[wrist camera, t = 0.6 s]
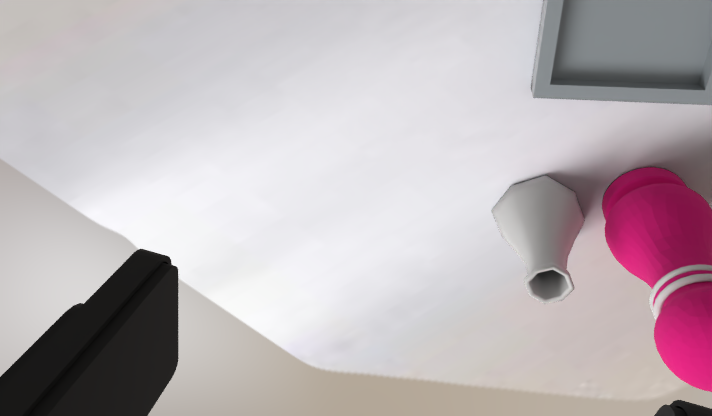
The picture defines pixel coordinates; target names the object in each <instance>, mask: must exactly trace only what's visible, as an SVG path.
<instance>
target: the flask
mask: <svg viewBox="0 0 712 416" xmlns="http://www.w3.org/2000/svg"><path fill="white" fill-rule="evenodd" d="M491 211H492V214H493V216H494V219H495V221H496V223H497V226H498V228H499V231H500V233H501V236H502V238H503V239H504V240H505V241H506V242H507V243H508V244H509V246H510V247H511V248H512V249H513V250H514V251H515V252H516V253H517V255H518V256H519V257H520V258H521V260H522V261H523V262H524V264H525V265H526V267H527V274H528V275H527V276H526V277H525V278H524V283H525V286H526V288H527V291H528V293H529V296H531V297H532V298H534V299H536V300H538V301H540V302H541V303H543V304H548V303H553V302H557V301H562V300H563V299H564V298H566V297H567V296H568V295H569V294H570V293H571V292H572V291H573V290H574V285H573V282H572V279H571V277H570V274H569V272H568V271H567V270H566V268H567V259H568V255H569V253H570V251H571V248H572V246H573V244H574V241H575V239H576V237H577V235H578V233H579V231H580V229H581V227H582V225H583V223H584V221H585V220H584V217H583V214H582V211H581V208H580V205H579V202H578V199H577V196H576V193H575V192H574V191H572V190H570V189H569V188H567V187H565V186H563V185H562V184H560V183H558V182H556V181H555V180H553V179H551V178H549V177H548V176H546V175H545V176H542V177H539V178H535V179H532V180H529V181H525V182H522V183H519V184H516V185H512V186H511V187H510V188H509V189H508V190H507V192H506V193H505V194H504V195H503V197H502V198H501V199H500V200H499V201H498V203H497V204H496V205H495V206H494V208H493V209H492V210H491Z"/></svg>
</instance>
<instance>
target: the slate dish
mask: <svg viewBox="0 0 712 416" xmlns="http://www.w3.org/2000/svg"><path fill="white" fill-rule="evenodd" d="M531 91H532V95H533V98H551V99H575V100H600V101H624V102H648V103H673V104H697V105H712V0H543V6H542V13H541V20H540V27H539V34H538V41H537V48H536V55H535V62H534V69H533V76H532V83H531Z"/></svg>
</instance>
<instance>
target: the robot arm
mask: <svg viewBox="0 0 712 416" xmlns="http://www.w3.org/2000/svg"><path fill="white" fill-rule="evenodd" d="M177 363H178V268H177V267H176V266H173V265H171V259H170V257H168V256H165V255H161V254H158V253H154V252H151V251H147V250H144V249H139V250H137V251H136V252H134V253H133V254H132V255H131V256H130V258H129V259H127V260H126V262H125V263H124V264H123V265H122V266H121V267H120V268H119V269H118V270H117V271H116V272H115V273H114V274H113V275H112V276H111V277H110V278H109V279H108V280H107V281H106V282H105V283H104V284H103V285H102V286H101V287H100V288H99V289H98V290H97V291H96V292H95V293H94V294H93V295H92V296H91V297H90V298H89V299H88V300H87V301H86V302H85V303H84V304H81V303H79V304H77V305H74V306H73V307H71V308H70V309H69V310H68V311H66V312H65V313H64V314H63V315H62V316H61V317H60V318H59V319H58V320H57V321H56V322H55V323H54V324H53V325H52V326H51V327H50V328H49V329H48V330H47V331H46V332H45V333H44V334H43V335H42V336H41V337H40V338H39V339H38V340H37V341H36V342H35V343H34V344H33V345H32V346H31V347H30V348H29V349H28V350H27V351H26V352H25V353H24V354H23V355H22V356H21V357H20V358H19V359H18V360H17V361H16V362H15V363H14V364H13V365H12V366H11V367H10V368H9V369H8V370H7V371H6V372H5V373H4V374H3V375H2V376H1V377H0V416H147V415H148V414H149V412H150V411H151V409H152V408H153V406H154V405H155V403H156V401H157V400H158V398H159V397H160V395H161V394H162V392H163V391H164V389H165V387H166V386H167V384H168V383H169V381H170V380H171V378H172V376H173V375H174V372H175V370H176V367H177ZM654 416H712V409H710V408H706V407H703V406H700V405H696V404H692V403H689V402H685V401H681V400H677V401H674V402H673V403H672V404H671V405H670V406H669V405H663V406H662V407H661V408H660V409H659V410H658V412H657V413H656V414H655V415H654Z"/></svg>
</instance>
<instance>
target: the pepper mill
mask: <svg viewBox="0 0 712 416" xmlns="http://www.w3.org/2000/svg"><path fill="white" fill-rule="evenodd" d="M602 209H603V214H604V217H605V219H606V224H605V237H606V241H607V244H608V246H609V248H610V250H611V252H612V254H613V255H614V257H615V258H616V260H617V261H618V262H619V263H620V264H621V265H622V266H623V267H625V268H626V269H627V270H628V271H629V272H631V273H632V274H633V275H635V276H637V277H638V278H640V279H641V280H643V281H645V282H646V283H647V284H648V285H649V286H650V287H651V288H652V291H651V294H650V299H649V303H650V308H651V311H652V313H653V314H654V318H655V320H656V323H655V328H654V339H655V343H656V347H657V350H658V352H659V354H660V356H661V358H662V360H663V361H664V363H665V364H666V365H667V367H668V368H669V369H670V370H671V371H672V372H673V373H674V374H675V375H676V376H677V377H678V378H680V379H681V380H683V381H684V382H686V383H688V384H690V385H691V386H694V387H696V388H699V389H702V390H705V391H710V392H712V210H711V208H710V206H709V204H708V203H707V202H706V200H705V199H704V198H703V197H702V196H701V195H699V194H698V193H696V192H695V191H693V190H691V189H690V188H687V186H686V185H685V184H684V182H683V181H682V180H681V179H680V178H679V177H678V176H677V175H676V174H674V173H673V172H670V171H668V170H665V169H662V168H655V167H647V168H640V169H635V170H632V171H630V172H627V173H625V174H623V175H622V176H620V177H619V178H617V179H616V180H615V181H614V182H613V183H612V184H611V185H610V186H609V188H608V189H607V191H606V192H605V195H604V197H603V202H602Z"/></svg>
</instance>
